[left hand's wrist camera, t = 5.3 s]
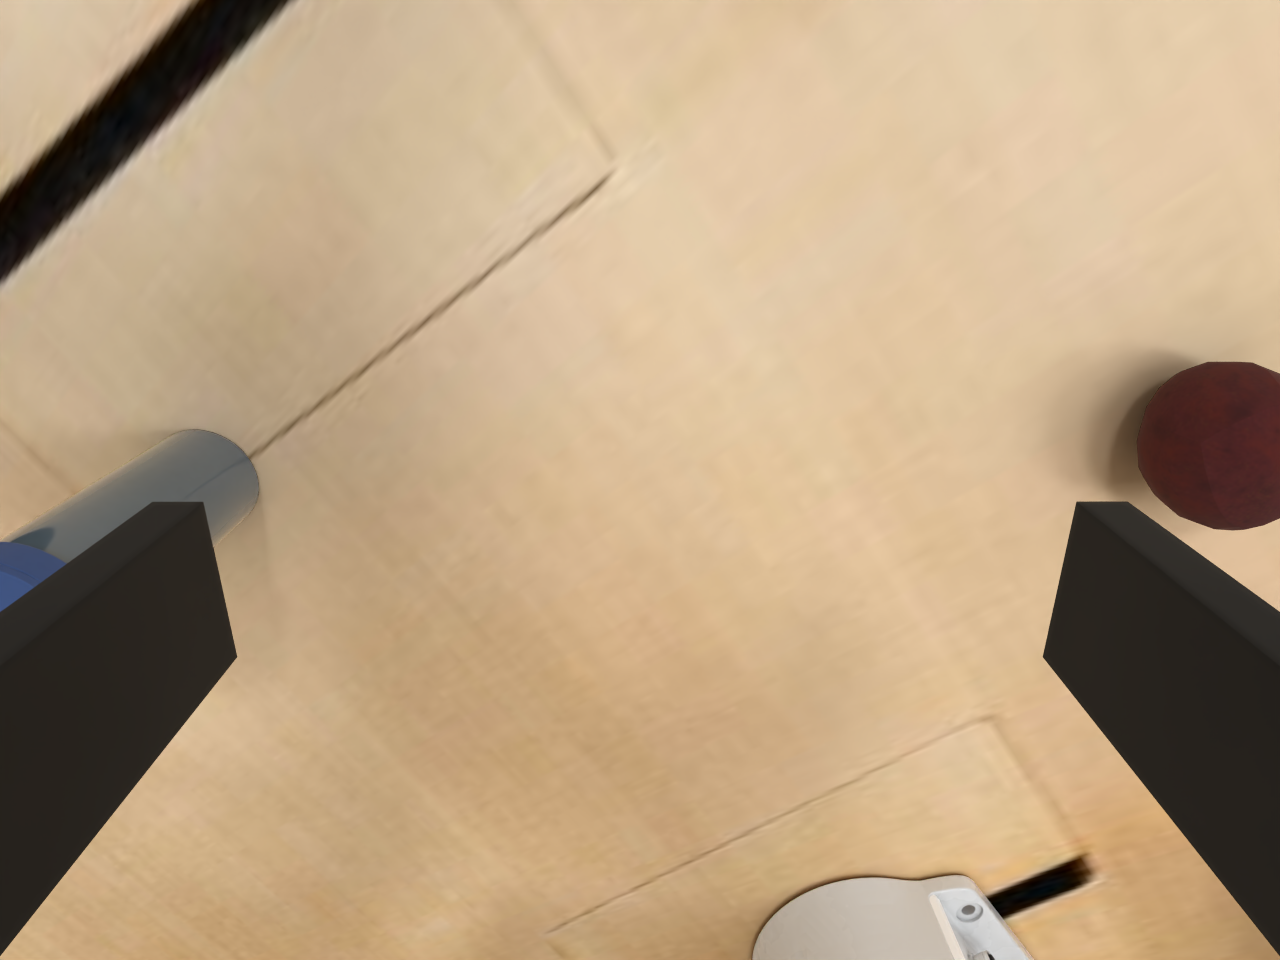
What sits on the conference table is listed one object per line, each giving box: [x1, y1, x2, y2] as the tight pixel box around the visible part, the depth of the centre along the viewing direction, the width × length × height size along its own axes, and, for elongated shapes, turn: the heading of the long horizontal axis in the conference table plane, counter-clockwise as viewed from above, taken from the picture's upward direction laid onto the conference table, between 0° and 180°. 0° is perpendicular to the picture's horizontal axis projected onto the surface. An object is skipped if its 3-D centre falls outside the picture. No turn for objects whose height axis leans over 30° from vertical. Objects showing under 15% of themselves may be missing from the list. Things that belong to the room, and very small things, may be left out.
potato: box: [1137, 362, 1280, 530], centre depth 38 cm, size 7×8×7 cm
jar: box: [0, 430, 259, 563], centre depth 35 cm, size 5×5×15 cm
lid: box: [0, 542, 67, 612], centre depth 29 cm, size 6×6×2 cm
